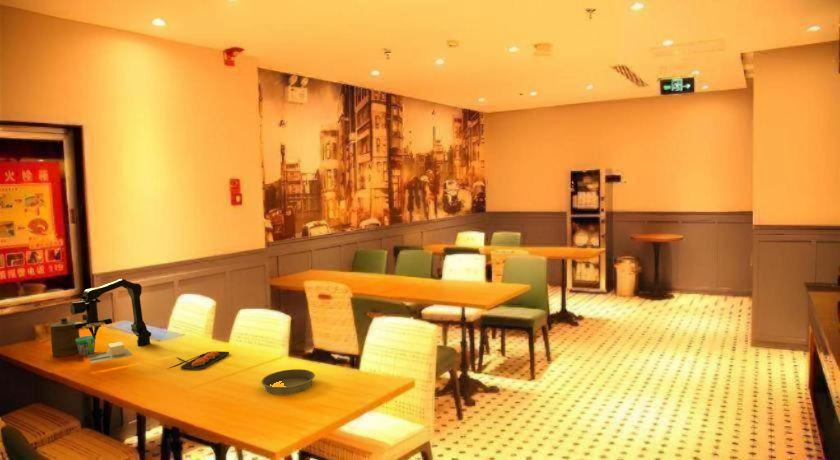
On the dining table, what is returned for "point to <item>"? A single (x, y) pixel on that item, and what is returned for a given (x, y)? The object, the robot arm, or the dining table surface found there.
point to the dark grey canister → (64, 337)
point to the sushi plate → (202, 360)
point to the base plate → (106, 356)
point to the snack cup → (85, 345)
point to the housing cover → (116, 348)
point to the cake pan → (289, 381)
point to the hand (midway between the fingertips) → (94, 337)
